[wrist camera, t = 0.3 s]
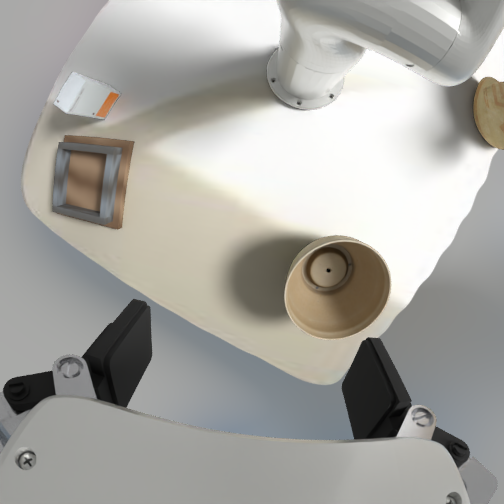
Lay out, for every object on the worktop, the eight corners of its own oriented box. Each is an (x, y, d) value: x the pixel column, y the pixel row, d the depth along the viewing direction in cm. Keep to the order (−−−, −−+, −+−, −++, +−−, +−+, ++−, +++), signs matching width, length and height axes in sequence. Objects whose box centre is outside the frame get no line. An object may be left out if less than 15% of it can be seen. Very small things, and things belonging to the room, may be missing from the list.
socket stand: (69, 135, 42) (55, 135, 38) (134, 141, 43) (122, 140, 38) (61, 211, 47) (48, 216, 43) (121, 227, 48) (109, 233, 43)
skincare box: (105, 120, 41) (65, 115, 30) (91, 110, 41) (51, 104, 29) (123, 93, 40) (86, 79, 28) (108, 83, 39) (71, 70, 28)
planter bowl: (333, 202, 44) (351, 215, 34) (383, 268, 48) (408, 295, 37) (262, 263, 49) (260, 292, 38) (318, 321, 52) (327, 356, 42)
